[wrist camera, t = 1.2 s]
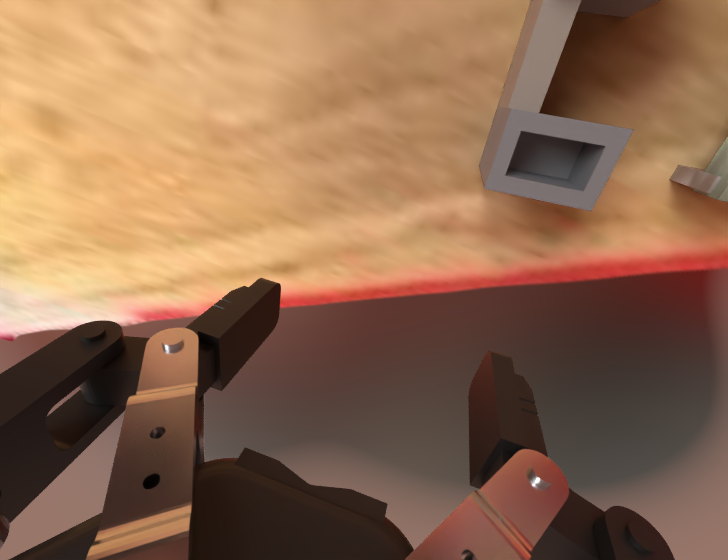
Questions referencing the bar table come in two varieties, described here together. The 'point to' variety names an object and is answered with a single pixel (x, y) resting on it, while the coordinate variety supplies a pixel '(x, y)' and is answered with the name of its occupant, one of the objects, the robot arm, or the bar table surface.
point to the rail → (707, 176)
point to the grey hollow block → (550, 117)
